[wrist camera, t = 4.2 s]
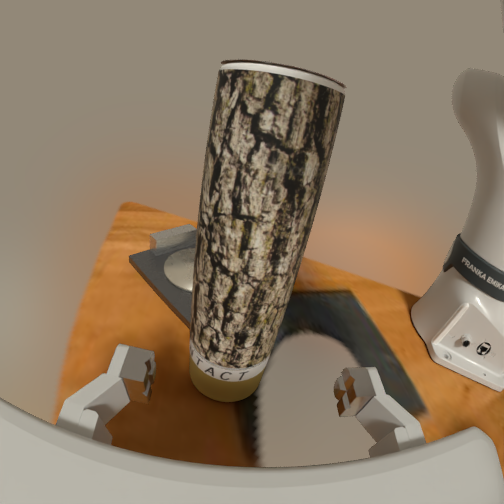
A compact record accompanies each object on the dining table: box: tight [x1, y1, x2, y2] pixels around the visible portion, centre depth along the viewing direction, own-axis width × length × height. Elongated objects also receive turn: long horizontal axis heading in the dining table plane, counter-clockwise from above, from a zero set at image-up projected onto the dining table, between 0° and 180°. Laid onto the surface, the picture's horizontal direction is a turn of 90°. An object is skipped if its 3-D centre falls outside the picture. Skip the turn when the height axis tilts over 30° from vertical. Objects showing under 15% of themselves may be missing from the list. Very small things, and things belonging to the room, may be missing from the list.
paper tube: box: [189, 60, 346, 402], centre depth 19 cm, size 7×7×25 cm
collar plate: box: [129, 224, 197, 329], centre depth 37 cm, size 16×14×4 cm
